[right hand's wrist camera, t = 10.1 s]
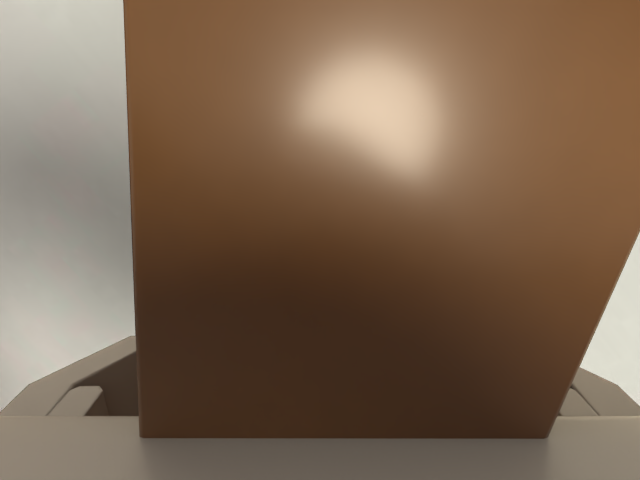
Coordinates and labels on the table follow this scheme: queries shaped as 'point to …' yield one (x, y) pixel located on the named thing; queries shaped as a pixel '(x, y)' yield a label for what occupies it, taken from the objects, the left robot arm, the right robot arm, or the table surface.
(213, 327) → the bar
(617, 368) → the table surface
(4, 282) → the table surface
